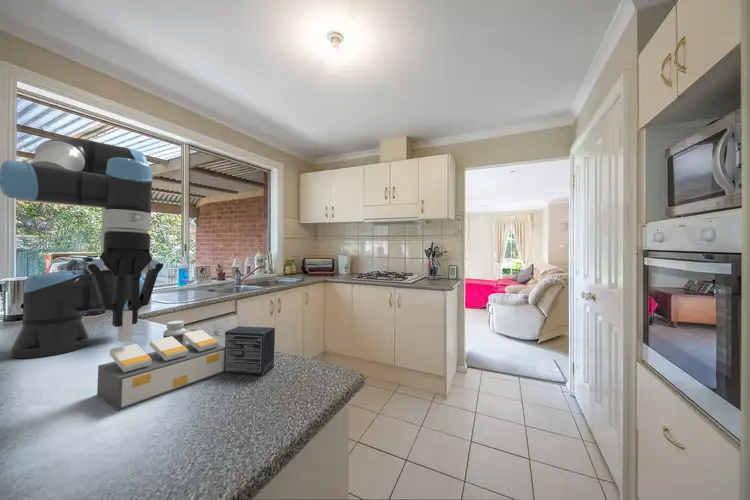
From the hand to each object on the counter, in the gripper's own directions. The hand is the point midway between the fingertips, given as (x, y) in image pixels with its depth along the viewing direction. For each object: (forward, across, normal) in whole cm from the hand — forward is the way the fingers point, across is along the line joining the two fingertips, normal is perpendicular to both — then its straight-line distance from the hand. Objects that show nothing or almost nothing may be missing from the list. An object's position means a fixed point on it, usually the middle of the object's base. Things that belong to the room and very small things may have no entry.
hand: (124, 340), depth 60 cm
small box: (+11, +22, -13) cm, 27 cm away
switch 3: (+3, +14, -3) cm, 15 cm away
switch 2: (+3, +7, -3) cm, 8 cm away
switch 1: (+3, 0, -3) cm, 4 cm away
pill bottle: (+11, +16, +13) cm, 23 cm away
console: (+11, +7, -3) cm, 13 cm away
